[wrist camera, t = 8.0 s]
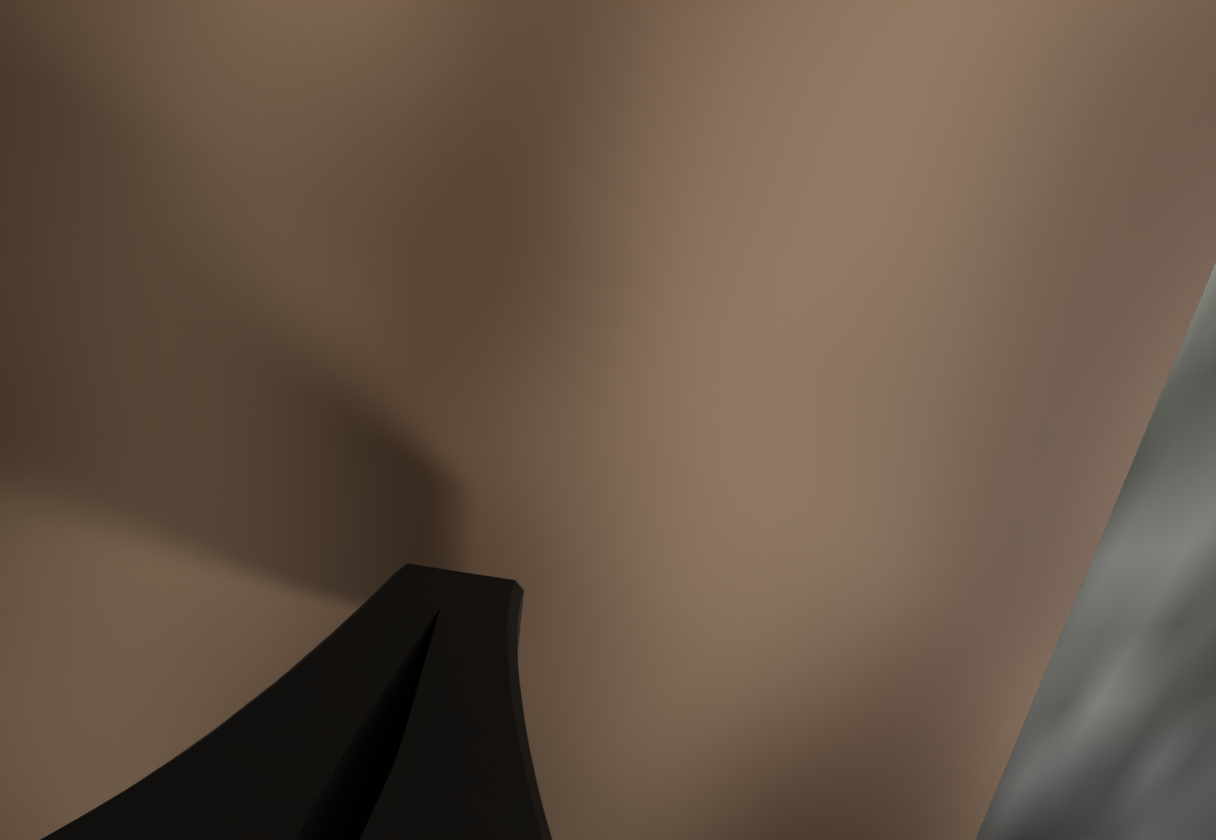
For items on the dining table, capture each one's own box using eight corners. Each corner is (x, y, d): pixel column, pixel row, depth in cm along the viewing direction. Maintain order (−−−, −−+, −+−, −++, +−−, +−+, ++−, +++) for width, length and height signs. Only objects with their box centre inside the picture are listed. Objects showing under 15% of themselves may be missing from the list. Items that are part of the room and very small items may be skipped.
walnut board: (1234, -60, 10) (1348, -57, 8) (863, 949, 17) (882, 1066, 16) (-96, -242, 10) (-260, -278, 9) (80, 823, 18) (9, 924, 16)
